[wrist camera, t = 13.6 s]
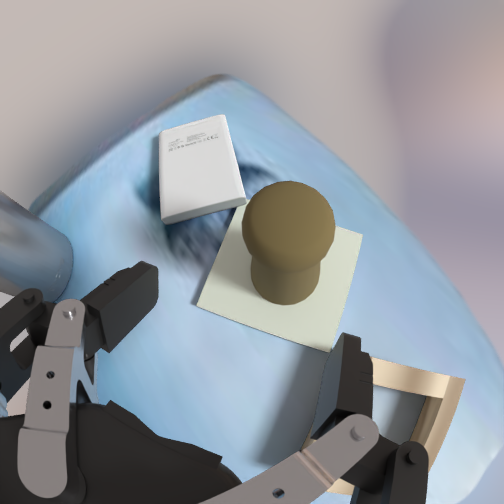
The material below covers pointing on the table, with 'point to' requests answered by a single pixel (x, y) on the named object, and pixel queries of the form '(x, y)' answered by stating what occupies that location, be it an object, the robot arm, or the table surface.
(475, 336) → the table surface
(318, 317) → the mat
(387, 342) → the table surface
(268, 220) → the cork
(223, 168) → the external hard drive
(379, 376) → the holder
